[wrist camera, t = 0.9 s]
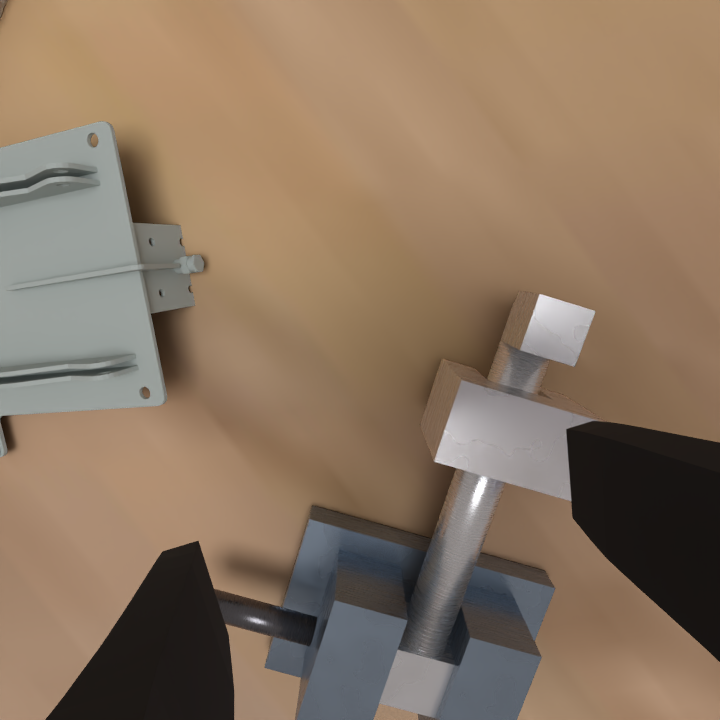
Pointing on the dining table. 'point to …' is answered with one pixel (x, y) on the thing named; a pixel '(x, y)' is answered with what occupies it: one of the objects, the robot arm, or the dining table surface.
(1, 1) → the washcloth
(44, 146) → the metal bracket
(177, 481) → the dining table surface
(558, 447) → the notched block
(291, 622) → the vise
